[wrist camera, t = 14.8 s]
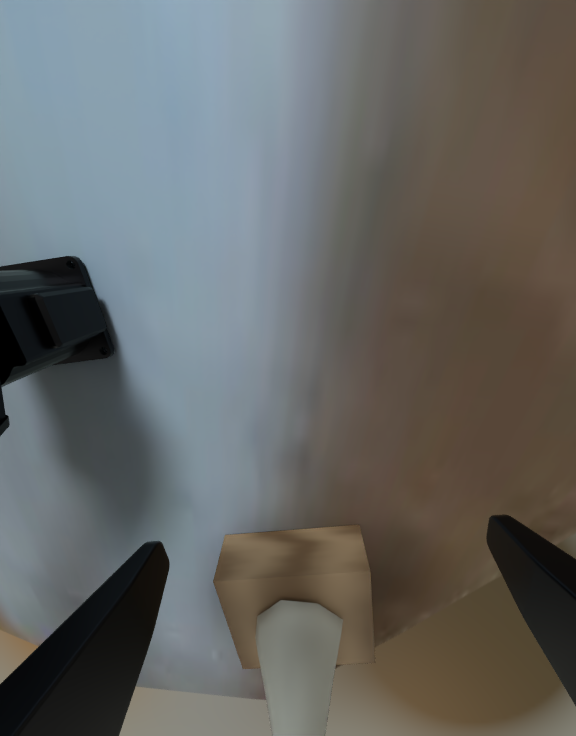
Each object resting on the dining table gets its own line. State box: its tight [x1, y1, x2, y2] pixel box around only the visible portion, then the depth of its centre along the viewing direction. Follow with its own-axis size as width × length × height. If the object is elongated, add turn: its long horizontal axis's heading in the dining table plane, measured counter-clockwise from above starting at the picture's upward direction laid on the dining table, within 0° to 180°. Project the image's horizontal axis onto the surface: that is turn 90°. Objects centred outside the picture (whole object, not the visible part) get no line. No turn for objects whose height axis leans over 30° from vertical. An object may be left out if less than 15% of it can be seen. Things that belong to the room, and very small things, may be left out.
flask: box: [255, 600, 343, 736], centre depth 19 cm, size 7×7×10 cm
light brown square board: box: [213, 525, 375, 669], centre depth 26 cm, size 12×12×4 cm
